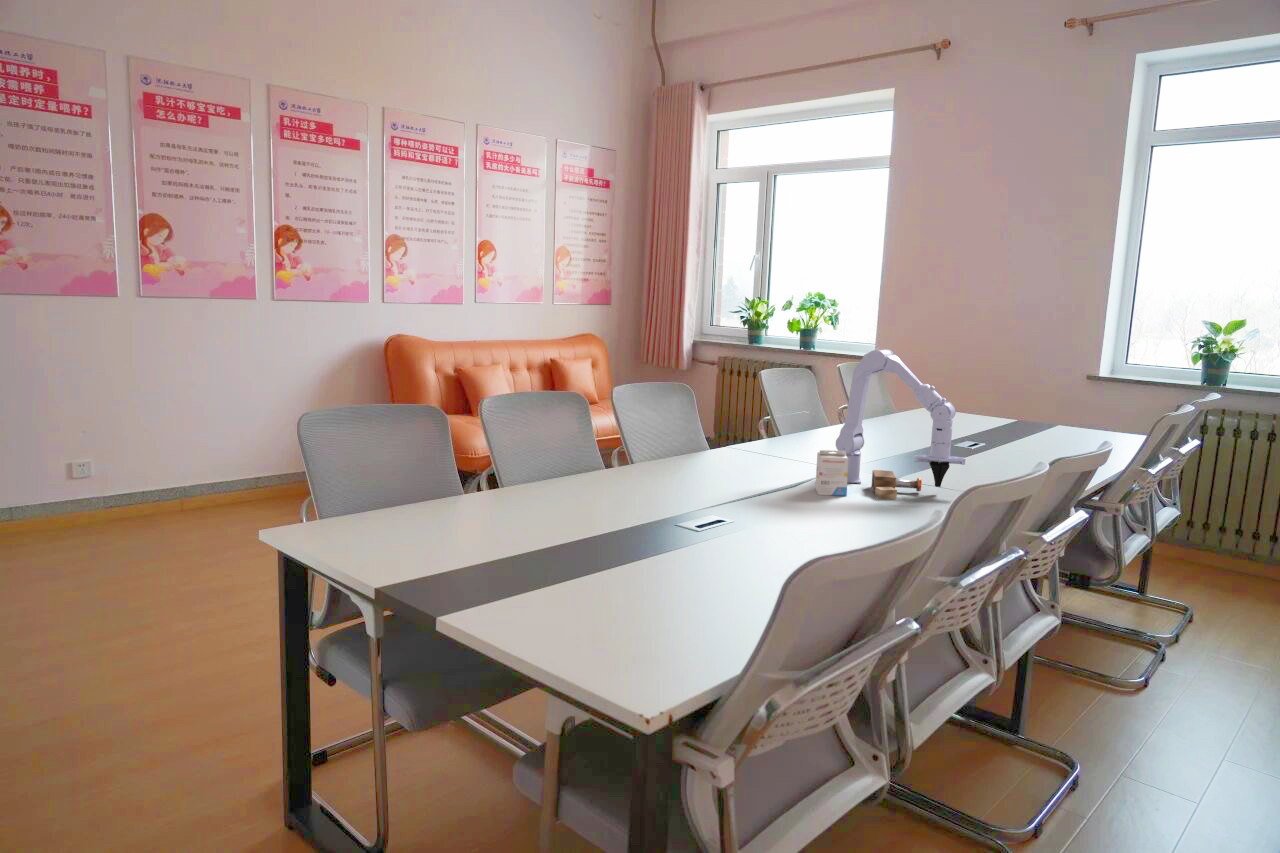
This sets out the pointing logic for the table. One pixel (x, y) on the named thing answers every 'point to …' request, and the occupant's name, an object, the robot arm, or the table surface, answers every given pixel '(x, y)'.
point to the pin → (909, 484)
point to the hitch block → (883, 479)
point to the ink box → (832, 473)
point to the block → (885, 492)
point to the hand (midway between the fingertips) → (937, 486)
